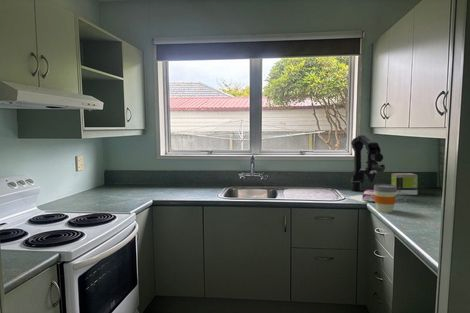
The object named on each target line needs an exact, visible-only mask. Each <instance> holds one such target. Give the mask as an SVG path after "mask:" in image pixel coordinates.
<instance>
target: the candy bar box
mask: <svg viewBox="0 0 470 313" xmlns="http://www.w3.org/2000/svg"><path fill="white" fill-rule="evenodd" d="M374 194H375V192H374V189H365V190H364V191H363V193H362V195H363V197H362V200H363V201H370V202H373V203H376V202H375V199H374Z"/></svg>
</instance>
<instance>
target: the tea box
mask: <svg viewBox="0 0 470 313" xmlns="http://www.w3.org/2000/svg"><path fill="white" fill-rule="evenodd" d="M390 177H391V178H390V179H391V182H390V183H391V184H390V185H395V186H397V192H396V196H397V195H400V196H401V195H403V196H406V195H408V196H409V195H413V196H414V195H415V196H416V195H418V187H419V186H418V184H419V183H418V179H419V178H418V177H419V176H418V174H415V173H411V172H410V173H409V172H405V173H404V172H402V173H400V172H399V173H397V172H396V173H395V172H394V173H391V176H390Z"/></svg>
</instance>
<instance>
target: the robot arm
mask: <svg viewBox="0 0 470 313" xmlns="http://www.w3.org/2000/svg"><path fill="white" fill-rule="evenodd" d="M350 144H351V148H352V149H353V153H354V155H353V156H354V158H353V160H354V163H353V164H354V170H353V171H352V173H351V174H352V175H351V177H350V179H349V183H352V184H351V189H350V191H352V192H362V191H363V189H362V184H364V181H365V176H364V175H366V177H367V179H368V180H369V183H370V184H371V183H372V184H373V182H374V178H375V177H376V175H378V174H379V173H384V172H385V171H384V170H386V165H385V164H379V163H381V162H382V161H383V160H384V155H383V154H382V153H381V147H380V145H379V143H378V142H376V141H372V140H370V139H369V138H368V137H367V136H366V135H361V134H360V135H358V136H356V137H354V138H353V139H352V140H351V143H350ZM364 146H365V149H366V150H367V152H366V154H367V159H366V160H367V161H366V163H365V164H367V167H365V168H362V150H363V148H364ZM363 192H364V191H363Z"/></svg>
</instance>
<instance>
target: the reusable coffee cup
mask: <svg viewBox="0 0 470 313" xmlns="http://www.w3.org/2000/svg"><path fill="white" fill-rule="evenodd" d="M373 190H374V192H375V194H374V199H375V202H374V203H375V210H376V211H377V212H379V213H386V214H387V213H389V212H390V213H393V212H394V208H395V207H394V206H395V204H396V200H397V195H396V192H397V186H395V185H391V184H387V183H376V184H374V185H373ZM390 213H389V214H390Z"/></svg>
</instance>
